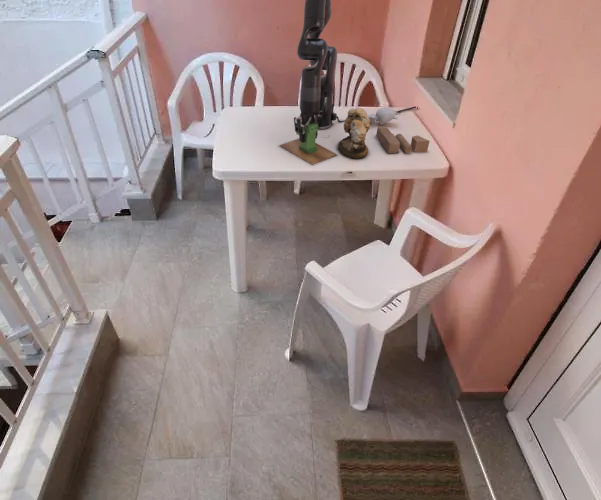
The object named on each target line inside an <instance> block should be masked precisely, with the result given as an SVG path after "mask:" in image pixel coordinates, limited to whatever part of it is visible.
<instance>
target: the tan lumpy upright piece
mask: <svg viewBox="0 0 601 500" xmlns="http://www.w3.org/2000/svg"><path fill="white" fill-rule="evenodd" d="M367 115H368V113H367V111H366V110H365V109H364V108H362V107H356V108H350V109H349V110H348V111H347V116H346V118H345V120H343V121H344V122H343V130H344V133H345V134H348V135H347V136H346V137H344V138H342V139H341V140H340V141H339V142H338V145H337V148H338V151H339V152H340V154H342V155H343V156H344V157H346V158H349V159H352V160H362V159H365V158H366V157H367V156H368V154H369V148H368V146H367V145H366V137H367V133H368V132H369V131H370V126H371V125H370V123H371V122H370V119H369V118H368V117H367Z"/></svg>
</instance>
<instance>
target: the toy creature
mask: <svg viewBox="0 0 601 500" xmlns="http://www.w3.org/2000/svg"><path fill="white" fill-rule="evenodd" d="M396 111H397V110H395V109H393V108H388V107H382V108H379V109H378V110H377V111H376V112H375V114H367V117H368V118H369V119H370V123H372V122H373V123H375V122H378V124H379V126H382V125H384V124H386V123H390V122H391V121H393V120H397V121H398V120H399V121H400V118H399V117H398V116H397V115H401V112H398V113H397V112H396Z"/></svg>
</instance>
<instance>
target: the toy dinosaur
mask: <svg viewBox="0 0 601 500" xmlns="http://www.w3.org/2000/svg"><path fill="white" fill-rule="evenodd" d="M303 125H306V124H304V123H303ZM302 130H303V129H302ZM316 132H318V133H319V129H318V125H317V124H315V123H313V124H310V125H309V126H308V128H307V129H306V131H305V142H304V143H302V142H301V143H300V146H299V149H300V150H302V151H304V152H305V153H307V154H310V153H313V152H315V151H318V148H317V147H315V143H316V140H317V138H316ZM295 134H296V135H297V136H299V133H297V132H295Z"/></svg>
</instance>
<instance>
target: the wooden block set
mask: <svg viewBox="0 0 601 500" xmlns="http://www.w3.org/2000/svg"><path fill="white" fill-rule="evenodd" d="M375 135H376V137H377V138H378V140H379V141H380V142H381V143H380V144H381V146H382V147H383V149H384V150H385V152H386V153H387V154H398V153H399V150H400V148H401V149H402V150H403V151H404V153H406V154H409V153H411V152H413V153H428V150H429V144H430V140H428V139H426V138H424V137H422V136H420V135H413V136H412V137H411V142H410V143H409V141H408V140H407V139H406V138H405V136H404V135H403V134H401V133H396V134H394V133H392V132H391V130H390V129H389V128H388V127H385V126H382V125H379V126H377V127H376V133H375Z"/></svg>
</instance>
